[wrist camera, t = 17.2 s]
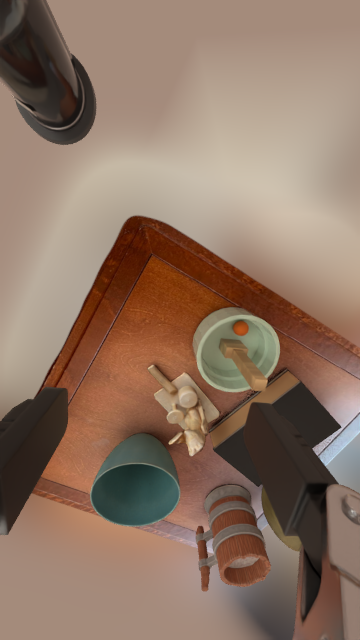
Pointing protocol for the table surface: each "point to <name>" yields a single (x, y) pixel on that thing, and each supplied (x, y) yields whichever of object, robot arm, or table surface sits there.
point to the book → (289, 403)
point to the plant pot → (136, 483)
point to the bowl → (220, 325)
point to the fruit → (270, 515)
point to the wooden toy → (185, 409)
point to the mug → (232, 539)
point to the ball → (240, 328)
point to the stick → (243, 363)
